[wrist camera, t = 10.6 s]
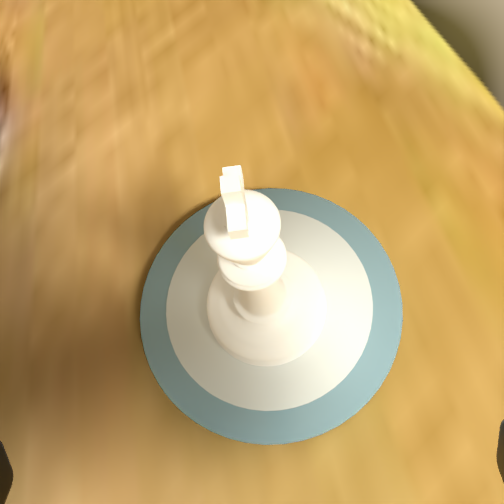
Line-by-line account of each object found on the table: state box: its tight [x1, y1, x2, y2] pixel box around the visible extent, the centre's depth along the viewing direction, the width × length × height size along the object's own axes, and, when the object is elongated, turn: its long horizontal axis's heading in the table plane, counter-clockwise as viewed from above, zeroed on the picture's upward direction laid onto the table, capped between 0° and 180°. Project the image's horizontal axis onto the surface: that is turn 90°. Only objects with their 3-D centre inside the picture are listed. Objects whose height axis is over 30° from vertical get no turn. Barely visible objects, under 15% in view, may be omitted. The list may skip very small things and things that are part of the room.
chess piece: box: [204, 165, 327, 366], centre depth 15 cm, size 5×5×10 cm
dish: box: [140, 188, 403, 445], centre depth 20 cm, size 11×11×1 cm
